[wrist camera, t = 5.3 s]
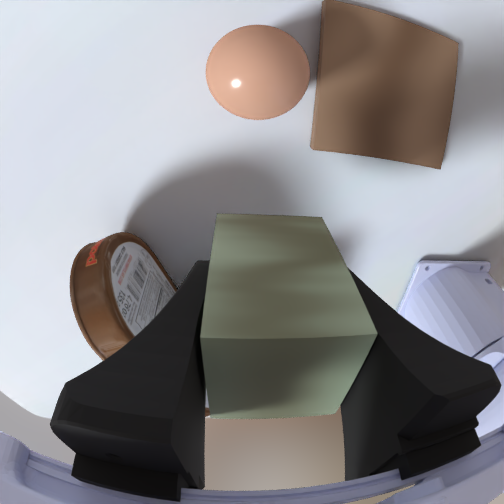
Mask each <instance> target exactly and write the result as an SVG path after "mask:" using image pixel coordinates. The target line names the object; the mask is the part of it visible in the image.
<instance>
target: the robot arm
mask: <svg viewBox="0 0 504 504" xmlns="http://www.w3.org/2000/svg"><path fill="white" fill-rule="evenodd" d="M209 264H210V261H200V260H198V261H197V262H196V263H195V265H194V266H193V268H192V270H191V271H190V273H189V274H188V276H187V277H186V279H185V280H184V282H183V283H182V284H181V286H180V287H179V289H178V290H177V291H176V293H175V294H174V295H173V296H172V298H171V299H170V300H169V301H168V303H167V304H166V305H165V306H164V307H163V308H162V310H161V311H160V312H159V313H158V314H157V315H156V316H155V317H154V319H153V320H152V321H151V322H150V323H149V324H148V325H147V326H146V327H145V328H144V329H143V330H141V331H140V332H139V333H138V334H137V335H136V336H135V337H134V338H132V339H131V340H130V341H129V342H128V343H127V344H125V345H124V346H123V347H122V348H120V349H119V350H118V351H117V352H115V353H114V354H112V355H111V356H110V357H108V358H107V359H105V360H104V361H102V362H101V363H99V364H98V365H96V366H95V367H93V368H92V369H90V370H88V371H86V372H84V373H83V374H81V375H79V376H77V377H76V378H74V379H72V380H70V381H68V382H66V383H65V385H64V387H63V389H62V391H61V393H60V396H59V398H58V401H57V404H56V407H55V410H54V413H53V416H52V419H51V422H50V426H51V429H52V430H53V432H54V434H55V435H56V436H57V437H58V438H59V439H61V441H63V442H64V443H65V444H66V445H67V446H68V447H70V448H71V449H72V450H73V451H74V452H75V453H76V455H75V459H74V464H73V465H70V464H67V463H64V462H61V461H58V460H55V459H52V458H50V457H47V456H44V455H42V454H39V453H36V452H34V451H32V450H30V449H29V448H28V447H27V446H26V445H25V444H23V443H22V442H21V441H19V440H17V439H16V438H14V437H12V436H10V435H8V434H6V433H4V432H2V431H0V504H343V503H348V502H353V501H358V500H362V499H366V498H370V497H374V496H377V495H382V494H385V493H388V492H392V491H395V490H398V489H401V488H404V487H408V486H411V485H413V484H415V485H414V486H413V487H411V488H409V489H406V490H404V491H401V492H398V493H395V494H394V495H392V496H391V497H389V498H387V499H385V500H383V501H381V502H379V503H376V504H488V503H490V502H491V501H492V500H494V499H495V498H496V497H497V496H499V495H500V494H501V493H504V291H503V290H502V289H501V287H500V286H499V285H498V284H497V283H496V282H495V280H494V279H493V278H492V277H491V276H490V275H489V273H488V272H489V270H490V268H491V264H490V262H488V261H431V260H422V261H420V262H419V263H418V264H417V265H416V268H415V271H414V273H413V276H412V278H411V281H410V283H409V285H408V288H407V290H406V293H405V295H404V297H403V299H402V302H401V304H400V306H399V308H398V311H397V312H396V311H395V310H394V309H393V308H391V307H390V306H389V305H388V304H387V303H386V302H384V301H383V300H382V299H381V298H380V297H379V296H378V295H376V294H375V293H374V292H373V291H372V290H371V289H370V288H369V287H368V286H367V285H366V284H365V283H364V282H363V281H361V280H360V279H359V278H358V277H357V276H356V275H355V274H354V273H353V272H352V271H351V270H350V269H349V268H348V270H349V272H350V274H351V276H352V278H353V280H354V282H355V284H356V287H357V289H358V291H359V293H360V295H361V297H362V300H363V302H364V304H365V306H366V308H367V311H368V313H369V315H370V317H371V320H372V322H373V324H374V326H375V329H376V331H377V333H378V334H377V336H376V338H375V340H374V342H373V345H372V347H371V349H370V351H369V353H368V355H367V357H366V359H365V361H364V363H363V365H362V367H361V368H360V370H359V372H358V374H357V376H356V378H355V380H354V382H353V383H352V385H351V387H350V389H349V391H348V392H347V394H346V396H345V398H344V399H343V401H342V403H341V405H340V406H341V414H342V422H343V433H344V448H345V481H343V482H338V483H332V484H326V485H319V486H311V487H303V488H293V489H281V490H262V491H218V490H202V489H203V488H204V487H205V481H204V480H205V477H204V442H205V440H204V439H205V404H206V382H205V374H204V366H203V357H202V349H201V340H200V335H201V327H202V318H203V310H204V302H205V294H206V287H207V279H208V272H209Z"/></svg>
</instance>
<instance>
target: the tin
mask: <svg viewBox="0 0 504 504" xmlns="http://www.w3.org/2000/svg"><path fill="white" fill-rule="evenodd" d="M176 291H177V288H176V287H175V285H174V284H173V282H172V281H171V279H170V278H169V276H168V274H167V273H166V271H165V270H164V268H163V267H162V265H161V264H160V262H159V260H158V259H157V257H156V256H155V254H154V253H153V252H152V250H151V249H150V248H149V247H148V246H147V245H146V244H145V243H144V242H143V241H142V240H141V239H140V238H138V237H137V236H135V235H133V234H130V233H126V232H120V233H115V234H113V235H110V236H108V237H106V238H104V239H102V240H100V241H98V242H94V243H90V244H88V245H86V246H84V247H83V248H82V249H81V250H80V251H79V252H78V254H77V255H76V257H75V259H74V262H73V265H72V269H71V275H70V297H71V302H72V307H73V311H74V314H75V317H76V320H77V323H78V325H79V328H80V330H81V332H82V334H83V336H84V337H85V339H86V341H87V342H88V344H89V345H90V346H91V348H92V349H93V350H94V352H95V353H96V354H97V355H98V356H99V357H100V358H101V359H102V360H103V361H104V360H105V359H107V358H108V357H110V356H111V355H112V354H114V353H115V352H117V351H118V350H119V349H120V348H122V347H123V346H124V345H125V344H127V343H128V342H129V341H130V340H131V339H132V338H134V337H135V336H136V335H137V334H138V333H139V332H140V331H141V330H143V329H144V328H145V327H146V326H147V325H148V324H149V323H150V322H151V321H152V320H153V319H154V317H155V316H156V315H157V314H158V313H159V312H160V311H161V310H162V308H163V307H164V306H165V305H166V304H167V303H168V301H169V300H170V299H171V298H172V296H173V295H174V294H175V293H176ZM209 415H210V410H209V404H208V396H207V389H206V404H205V417H206V416H209Z"/></svg>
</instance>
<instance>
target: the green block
mask: <svg viewBox="0 0 504 504" xmlns="http://www.w3.org/2000/svg"><path fill="white" fill-rule="evenodd" d="M377 334H378V333H377V331H376V329H375V326H374V324H373V322H372V320H371V317H370V315H369V313H368V311H367V308H366V306H365V304H364V302H363V300H362V297H361V295H360V293H359V291H358V289H357V287H356V284H355V282H354V280H353V278H352V276H351V274H350V272H349V270H348V268H347V266H346V264H345V262H344V260H343V258H342V256H341V254H340V252H339V250H338V248H337V246H336V244H335V242H334V240H333V238H332V236H331V234H330V232H329V230H328V228H327V226H326V224H325V222H324V220H323V219H322V217H307V216H284V215H254V214H217V217H216V223H215V230H214V237H213V243H212V250H211V257H210V264H209V272H208V279H207V287H206V294H205V302H204V310H203V318H202V327H201V335H200V340H201V349H202V357H203V366H204V374H205V382H206V389H207V396H208V404H209V410H210V417H211V418H219V419H268V418H290V417H305V416H316V415H326V414H335V413H336V411H337V410H338V408H339V406H340V405H341V403H342V401H343V399H344V398H345V396H346V394H347V392H348V391H349V389H350V387H351V385H352V383H353V382H354V380H355V378H356V376H357V374H358V372H359V370H360V368H361V367H362V365H363V363H364V361H365V359H366V357H367V355H368V353H369V351H370V349H371V347H372V345H373V342H374V340H375V338H376V336H377Z"/></svg>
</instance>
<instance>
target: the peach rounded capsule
mask: <svg viewBox="0 0 504 504" xmlns="http://www.w3.org/2000/svg"><path fill="white" fill-rule="evenodd" d="M309 78H310V67H309V62H308V58H307V56H306V54H305V52H304V50H303V48H302V47H301V45H300V44H299V43H298V42H297V41H296V40H295V39H294V38H293V37H292V36H290V35H289V34H288V33H286V32H284V31H282V30H280V29H277V28H275V27H271V26H266V25H249V26H244V27H240V28H238V29H235V30H233V31H231V32H229V33H228V34H226V35H225V36H223V37H222V38H221V39H220V40H219V41H218V42H217V43H216V45H215V46H214V47H213V49H212V50H211V52H210V55H209V57H208V60H207V64H206V79H207V84H208V87H209V90H210V92H211V94H212V95H213V97H214V98H215V100H216V101H217V102H218V103H219V104H220V105H221V106H222V107H223V108H224V109H226V110H227V111H229V112H230V113H232V114H234V115H236V116H239V117H242V118H246V119H253V120H264V119H270V118H274V117H277V116H280V115H282V114H284V113H286V112H288V111H289V110H291V109H292V108H293V107H294V106H295V105H296V104H297V103H298V102H299V101H300V100H301V99H302V97H303V95H304V94H305V92H306V89H307V87H308V84H309Z"/></svg>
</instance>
